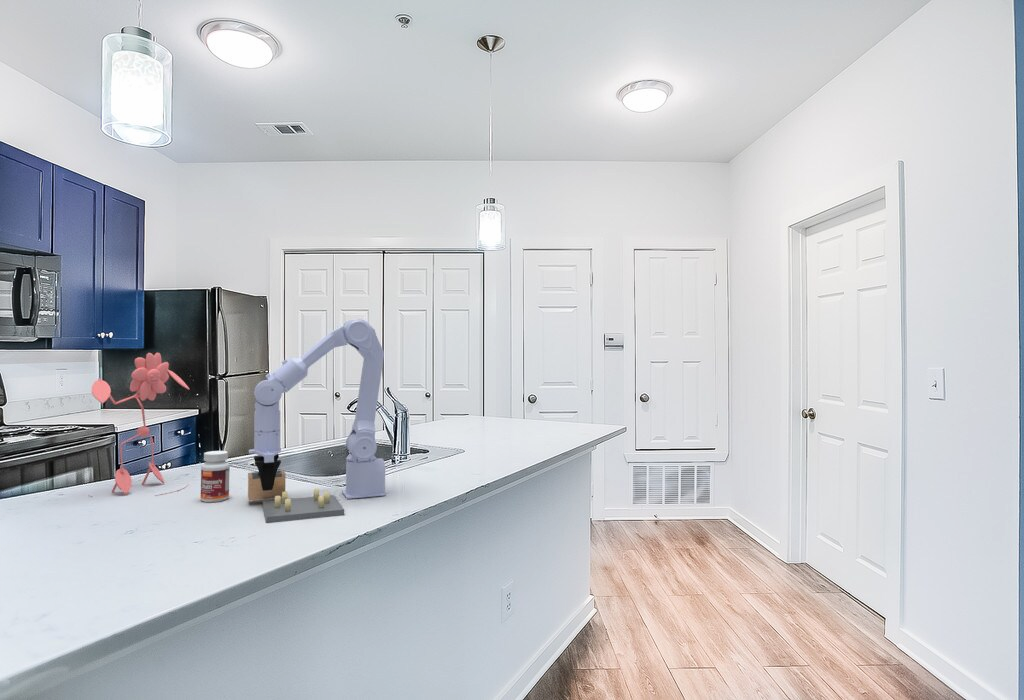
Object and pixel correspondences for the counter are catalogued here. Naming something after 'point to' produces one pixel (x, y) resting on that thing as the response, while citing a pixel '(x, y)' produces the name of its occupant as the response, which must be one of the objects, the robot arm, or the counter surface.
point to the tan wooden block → (256, 487)
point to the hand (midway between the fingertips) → (266, 487)
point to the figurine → (147, 385)
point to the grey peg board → (301, 507)
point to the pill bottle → (215, 477)
